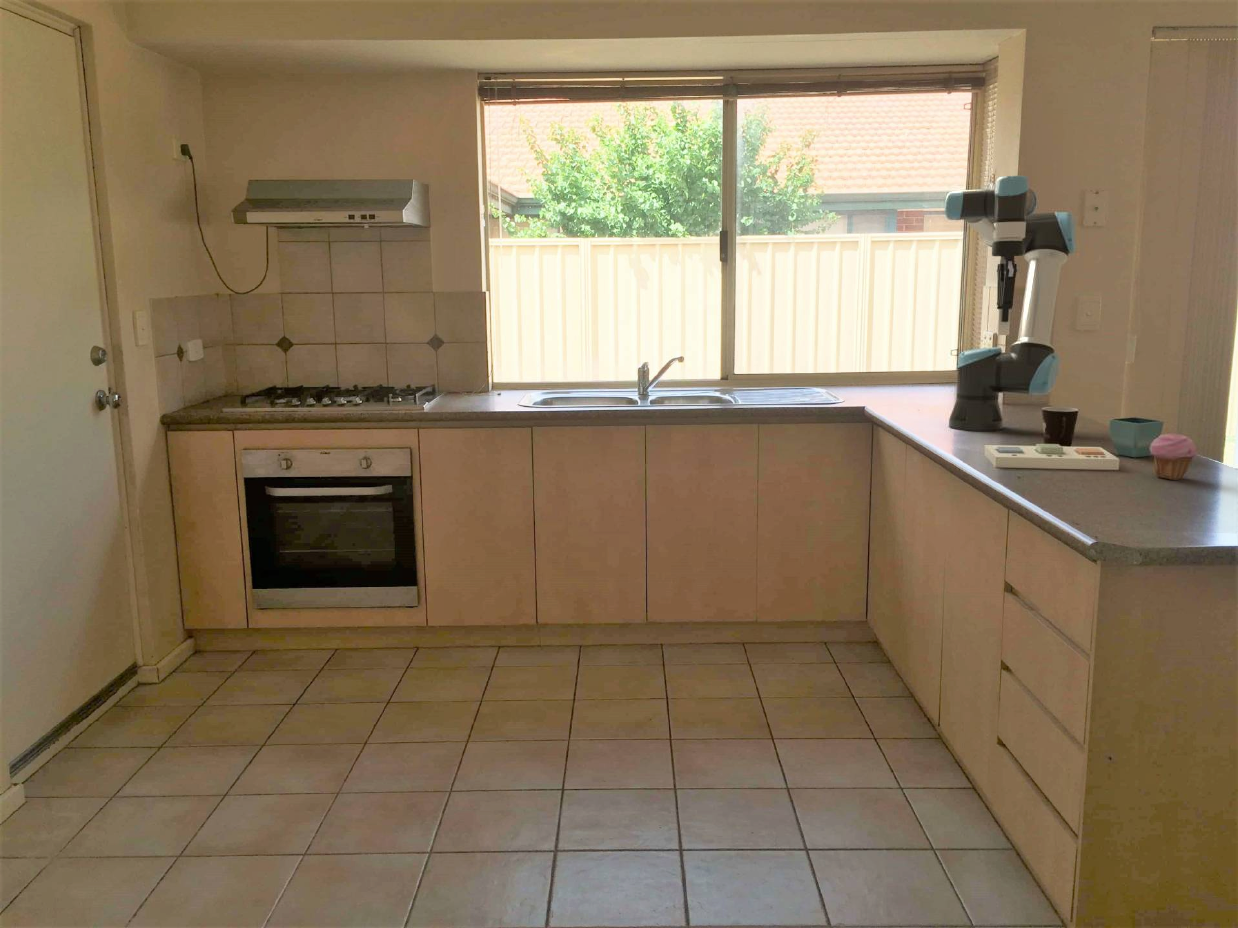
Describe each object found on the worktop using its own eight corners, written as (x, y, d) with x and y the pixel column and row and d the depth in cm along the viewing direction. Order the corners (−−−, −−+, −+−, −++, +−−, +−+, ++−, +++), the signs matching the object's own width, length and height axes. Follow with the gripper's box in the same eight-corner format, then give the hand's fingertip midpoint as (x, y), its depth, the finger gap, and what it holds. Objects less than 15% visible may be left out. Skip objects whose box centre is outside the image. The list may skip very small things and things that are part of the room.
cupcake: (1139, 476, 220) (1142, 432, 218) (1166, 472, 223) (1170, 429, 221) (1175, 483, 212) (1179, 438, 210) (1202, 479, 215) (1207, 434, 213)
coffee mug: (1045, 443, 262) (1047, 406, 260) (1079, 446, 257) (1082, 408, 255) (1031, 449, 253) (1034, 411, 251) (1066, 453, 248) (1069, 413, 246)
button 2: (1035, 454, 240) (1036, 443, 239) (1057, 455, 239) (1058, 444, 238) (1040, 458, 235) (1040, 447, 234) (1062, 458, 234) (1063, 447, 233)
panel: (984, 454, 247) (984, 444, 247) (1099, 457, 242) (1100, 446, 242) (995, 467, 232) (995, 456, 231) (1118, 469, 227) (1119, 458, 226)
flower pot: (1105, 454, 246) (1108, 418, 244) (1131, 451, 249) (1134, 416, 247) (1134, 460, 238) (1137, 423, 236) (1161, 457, 241) (1165, 421, 239)
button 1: (996, 457, 242) (997, 446, 241) (1018, 457, 241) (1018, 447, 240) (1000, 461, 237) (1000, 450, 236) (1022, 461, 236) (1022, 450, 235)
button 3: (1074, 458, 238) (1075, 448, 238) (1097, 459, 237) (1097, 448, 237) (1080, 462, 233) (1081, 451, 233) (1102, 463, 232) (1103, 452, 232)
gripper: (988, 241, 253) (983, 333, 257) (997, 239, 240) (991, 336, 245) (1019, 240, 251) (1013, 333, 256) (1029, 239, 239) (1023, 336, 243)
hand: (1002, 334), depth 250 cm, fingers closed
